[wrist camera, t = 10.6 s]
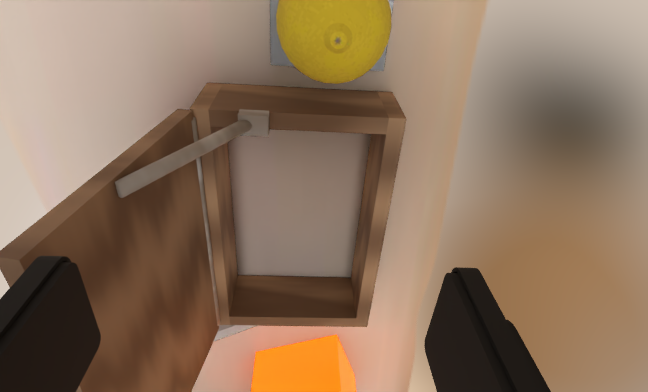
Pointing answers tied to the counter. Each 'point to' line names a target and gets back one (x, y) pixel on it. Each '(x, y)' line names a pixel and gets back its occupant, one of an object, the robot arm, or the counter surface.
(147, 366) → the case
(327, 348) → the orange juice
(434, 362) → the robot arm
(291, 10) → the lemon
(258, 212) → the counter surface
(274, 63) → the coaster
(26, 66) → the counter surface
